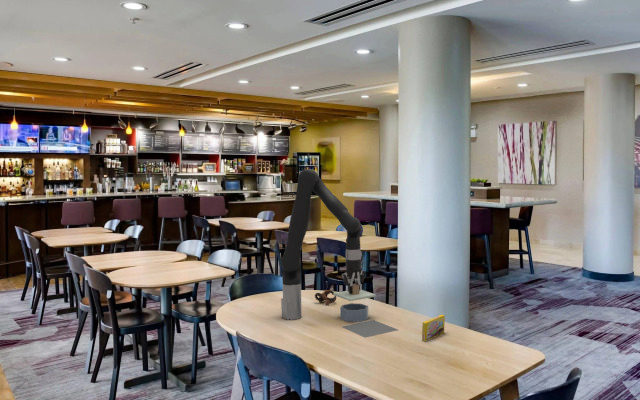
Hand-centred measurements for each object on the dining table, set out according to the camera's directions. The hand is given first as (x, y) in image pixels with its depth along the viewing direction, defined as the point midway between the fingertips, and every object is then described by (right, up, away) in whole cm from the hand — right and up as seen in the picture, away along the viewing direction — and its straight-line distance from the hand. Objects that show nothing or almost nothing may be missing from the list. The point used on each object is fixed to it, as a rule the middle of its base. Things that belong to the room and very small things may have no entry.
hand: (354, 292), depth 260 cm
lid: (0, -2, 0) cm, 2 cm away
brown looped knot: (-14, -12, +32) cm, 36 cm away
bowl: (0, -13, +1) cm, 13 cm away
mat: (+6, -14, -17) cm, 23 cm away
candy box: (+33, -15, -28) cm, 46 cm away
